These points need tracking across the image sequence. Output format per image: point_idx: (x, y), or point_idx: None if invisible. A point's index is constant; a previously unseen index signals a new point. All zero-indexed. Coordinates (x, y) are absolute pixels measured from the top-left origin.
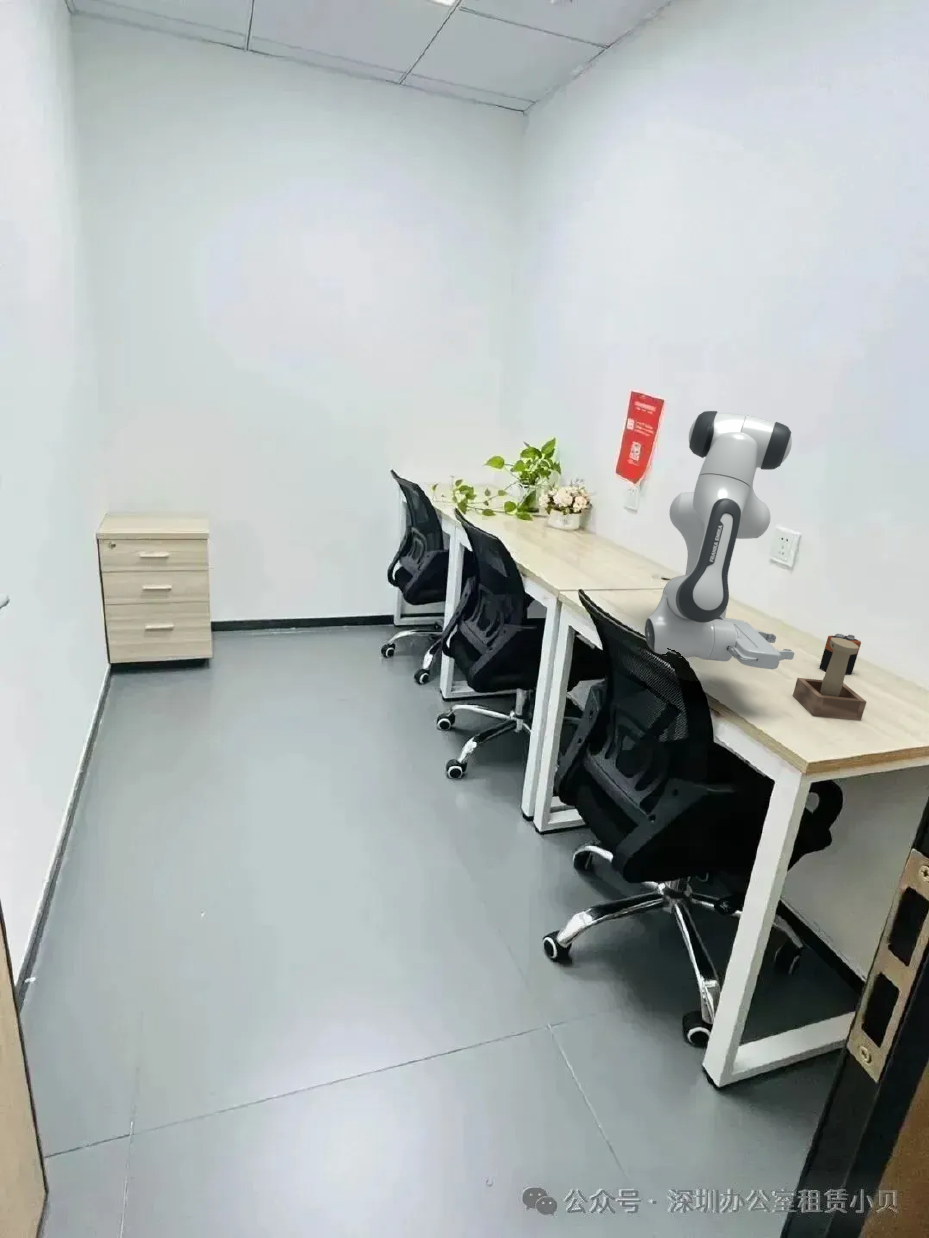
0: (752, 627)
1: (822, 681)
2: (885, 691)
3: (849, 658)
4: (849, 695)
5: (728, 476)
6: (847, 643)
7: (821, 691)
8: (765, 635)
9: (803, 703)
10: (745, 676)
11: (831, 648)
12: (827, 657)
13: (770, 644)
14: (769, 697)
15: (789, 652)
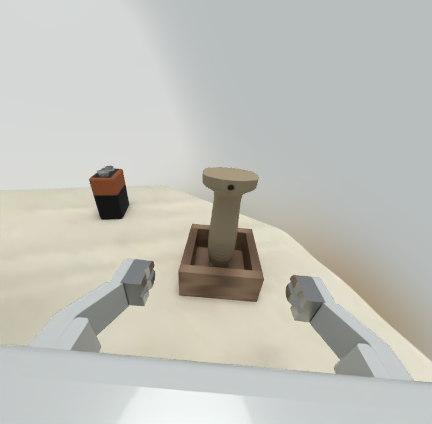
0: (25, 354)
1: (192, 243)
2: (170, 202)
3: (123, 191)
4: None
5: None
6: (231, 172)
7: (219, 259)
8: (118, 294)
9: (219, 295)
10: None
11: (106, 191)
12: (106, 203)
13: (375, 386)
14: (188, 353)
15: (327, 293)
